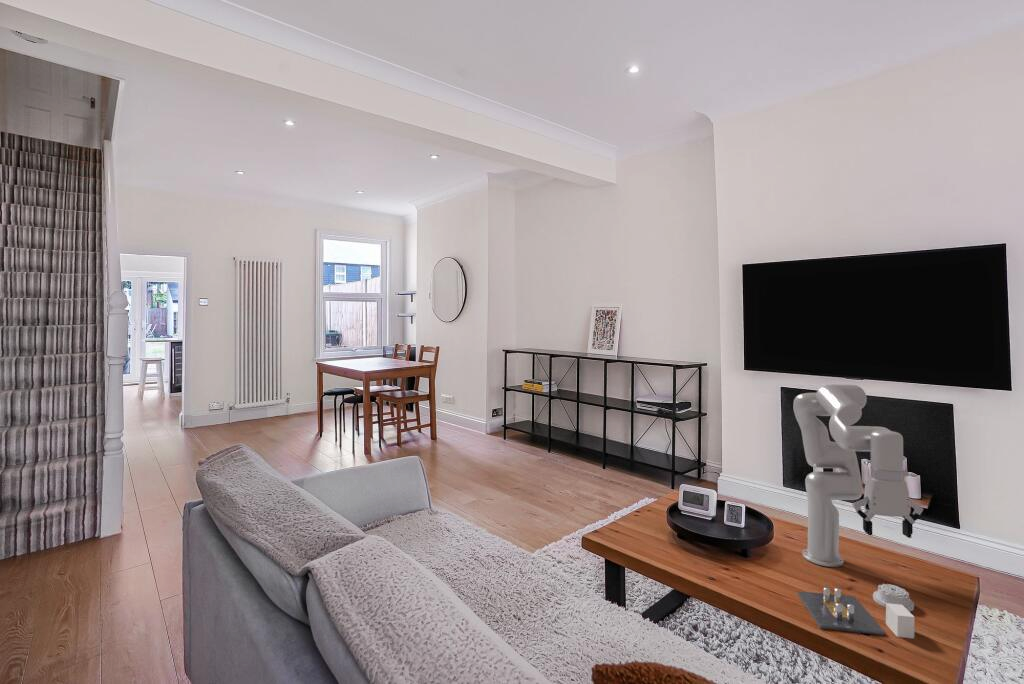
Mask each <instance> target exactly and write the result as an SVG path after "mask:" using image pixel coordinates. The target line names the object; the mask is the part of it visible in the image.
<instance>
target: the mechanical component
mask: <svg viewBox="0 0 1024 684" xmlns="http://www.w3.org/2000/svg"><path fill="white" fill-rule="evenodd" d="M872 593H873V594H872V599H873V601H875V602H876V604H878V605H879V606H882V607H883V608H886V603H889V604H900V605H903V606H904V607H905V608H906V609H907V610H908V611H909V612H910V613H911V612H913V611H914V610H915V603H914V602H913V600H912V599H910V593H909V592H908V591H906V589H905V588H902V587H899V585H895V584H890V583H889V584H888V583H887V584H885V583H882V584H879V585H878V586H877V590H876V591H874V592H872ZM875 602H874V603H875Z"/></svg>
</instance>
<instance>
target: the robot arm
mask: <svg viewBox="0 0 1024 684" xmlns="http://www.w3.org/2000/svg"><path fill="white" fill-rule="evenodd" d="M867 400H868V399H867V394H866V391H865V390H864V389H863V388H862V387H861V386H860V385H856V384H826V385H823V386H820V387H818V389H817V391H816V392H805V393H800V394H798V395H796V396H795V397H794V399H793V406H792V408H793V413H794V416H795V419H796V422H797V424H798V426H799V428H800V431H801V436H802V437H801V438H802V444H803V450H804V455H805V459H806V462H807V464H808V465H809V466H811V467H812V468H817V469H839V471H836V472H835V471H812V472H810V473H808V474H807V475H806V477H805V479H804V484H805V485H804V486H805V490H806V496H807V548H805V549H803V550H802V556H803V558H804V559H805V560H807V561H808V562H811V563H813V564H816V565H819V566H824V567H830V568H836V567H842V566H843V565H844V562H845V559H844V558H843V557H842V556H841V555H840V554H839V553H840V552H839V551H840V549H839V548H840V547H839V544H840V543H839V541H840V539H839V538H840V513H839V510H838V508H837V507H836V506H835V505H834V503H833V502H832V501H835V500H837V501H855V500H857V501H855V502H852V504H851V505H852V507H853V509H854V510H855V512H856V514H857V515H859V516H860V517H861V518H862V528H863V529H862V530H863V531H864V533H866V535H868V536H873V521H871V520H872V519H873V517H875V516H884V517H885V516H886V517H902V518H903V519H904V520H902V522H901V524H902V525H901V526H902V530H901V531H902V535H904V536H905V537H907V538H908V539H912V535H913V532H914V531H913V525H914V524H915V522H916V521H917V520H918V519H920V516H921V514H922V513H923V511H924V508H923V507H921V506H919V505H918V504H916V503H914V502H912V501H911V500H910V499H911V498H910V492H909V488H908V485H907V484H908V483H907V481H906V480H905V477H909V476H910V473H909V471H906V470H904V437H903V435H902V434H901V433H900V432H897V431H893V430H891V429H888V428H887V427H884V426H876V425H875V426H871V425H866V426H865V425H855V424H856V423H857V422H858V421H859V420H860V419H861V418H862V415H863V412H862V409H863V408H865V406H866V404H867ZM817 416H818V417H817ZM819 417H830V418H829V422H828V427H829V428H828V427H827V426H826V425H825V423H823V421H822V420H820V419H819ZM828 429H829V431H828ZM829 432H830V436H831V437H832V439H833V440H834V441H831V440H830V436H829ZM856 452H869V453H870V476H867V477H866V481H865V485H864V486H865V487H864V489H863V481H862V476H861V472H860V467H859V462H858V461H859V460H858V457H857V454H856ZM863 490H864V492H863ZM863 493H864V494H863ZM862 496H863V498H862V499H860V498H861V497H862ZM862 507H863V508H864V510H865V511H863V510H862ZM911 508H912V509H914V510H913V512H911Z"/></svg>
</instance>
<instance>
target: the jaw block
mask: <svg viewBox="0 0 1024 684" xmlns="http://www.w3.org/2000/svg"><path fill="white" fill-rule="evenodd" d="M915 620H916V619H915V616H914V615H913V614H912V613H911V611H910V612H909V611H908V610H907V609H906V608H905V607H904V606H903V605H900V604H889V603H886V607H885V624H886V626H887V627H888V628H889V629H890V630H891V632H893V634H894V635H895V636H896V637H897V638H907V639H915Z"/></svg>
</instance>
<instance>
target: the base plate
mask: <svg viewBox="0 0 1024 684" xmlns="http://www.w3.org/2000/svg"><path fill="white" fill-rule="evenodd" d="M797 596H798V597H799V599H800V601H802V603H803V605H804V606H805V608H806V609H807V611H808V612H809V613H810V615H811V617H812V618H813V620H814V622H815V623H816V624H817V625H818V628H819V629H823V630H831V631H843V632H851V633H861V634H868V635H870V634H871V635H879V636H886V631H885V630H884V628H882V627H881V626H880V624H879V623H878V622H877V621H876V619H875V618H874V617H873V616H872V615H871V614H870V613H869V612H868V610H867V609H866V608H865V607H864V606H863V604H862V603H861V602H860V601H859V600H858V599H857V598H856V597H855V596H854V595H846V594H842V590H841V588H838V587H835V588H834V594H833V593H831V588H830V587H828V586H827V587H826V586H823V592H813V591H812V592H811V591H800V590H798V591H797Z"/></svg>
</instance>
